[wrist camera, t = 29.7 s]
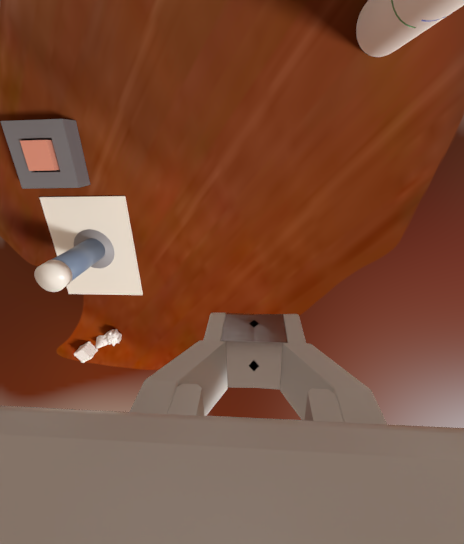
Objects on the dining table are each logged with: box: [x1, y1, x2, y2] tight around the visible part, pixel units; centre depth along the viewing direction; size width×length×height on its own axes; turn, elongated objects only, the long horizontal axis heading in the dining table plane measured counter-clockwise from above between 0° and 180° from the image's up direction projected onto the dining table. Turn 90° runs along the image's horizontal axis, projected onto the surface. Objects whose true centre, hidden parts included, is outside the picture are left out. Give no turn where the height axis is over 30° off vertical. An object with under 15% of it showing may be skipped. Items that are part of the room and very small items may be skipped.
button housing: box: [0, 119, 90, 188], centre depth 46 cm, size 10×10×4 cm
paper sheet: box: [39, 196, 143, 295], centre depth 54 cm, size 20×16×1 cm
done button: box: [20, 140, 60, 171], centre depth 45 cm, size 4×4×3 cm
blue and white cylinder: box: [35, 238, 105, 292], centre depth 48 cm, size 5×5×13 cm
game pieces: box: [74, 329, 122, 363], centre depth 63 cm, size 12×3×3 cm, turn 123°
